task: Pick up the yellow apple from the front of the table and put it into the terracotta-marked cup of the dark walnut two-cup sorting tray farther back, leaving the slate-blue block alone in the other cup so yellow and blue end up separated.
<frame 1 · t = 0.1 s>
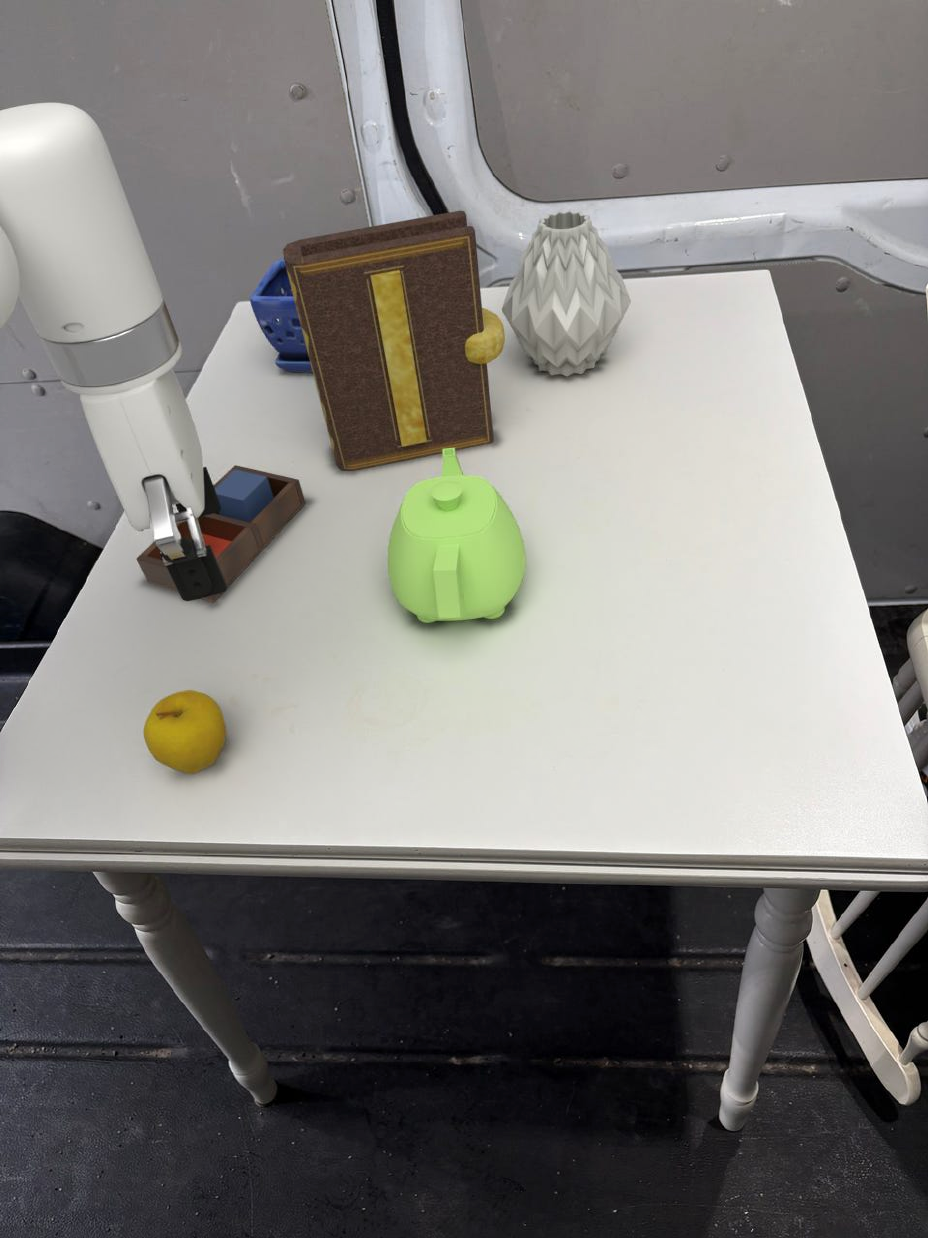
hand: (203, 552, 63), 18 cm above the table, tool pointing down, fingers open, 9 cm apart
vase: (566, 362, 113), on the table
teapot: (461, 589, 84), on the table
book: (423, 442, 103), on the table
apple: (202, 760, 73), on the table
flower pot: (326, 357, 121), on the table
blue block: (250, 516, 95), resting on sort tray
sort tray: (229, 541, 93), on the table
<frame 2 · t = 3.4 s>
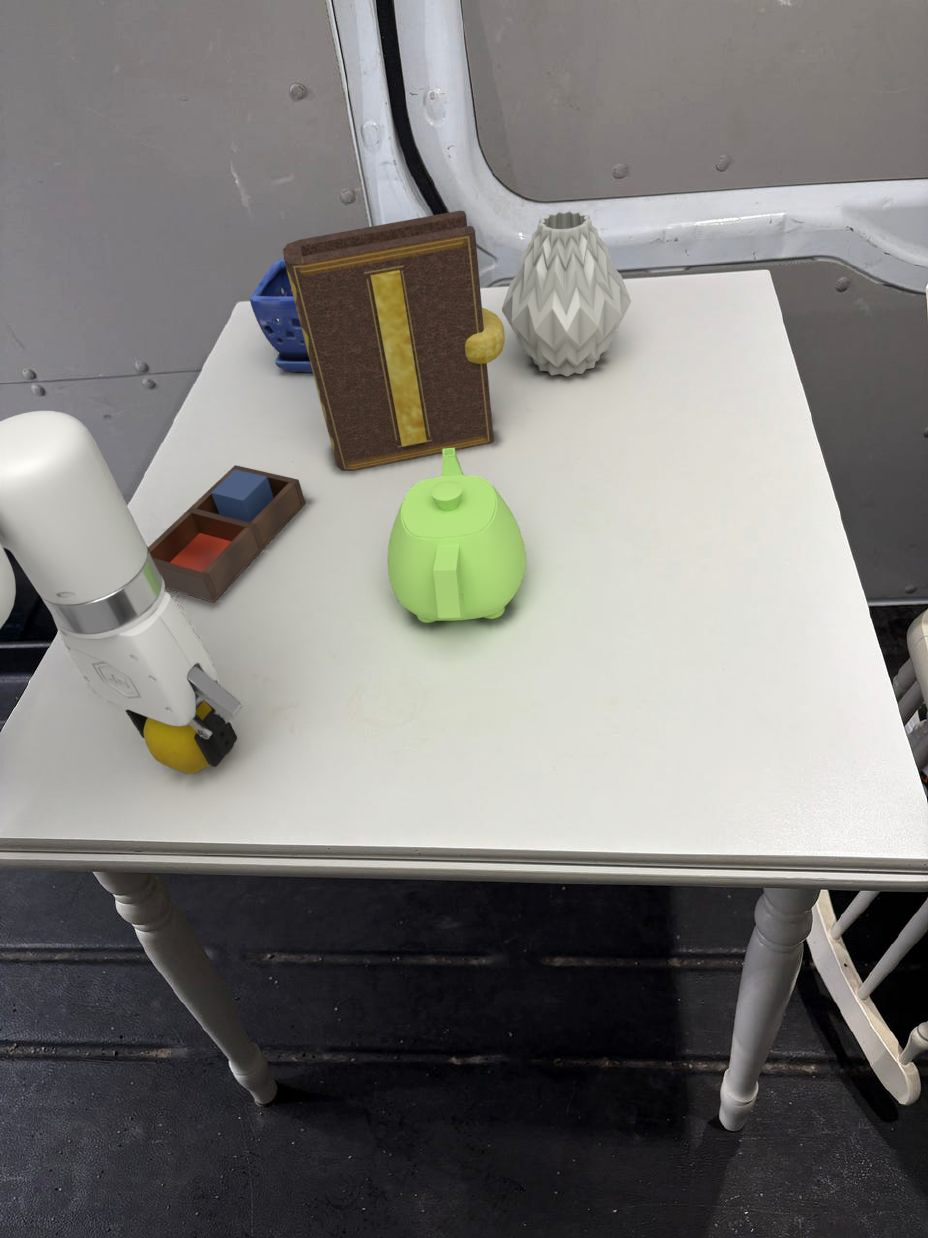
hand: (190, 738, 70), 3 cm above the table, tool pointing down, fingers closed on apple, 6 cm apart
apple: (202, 760, 73), on the table, touching gripper
everything else where it was.
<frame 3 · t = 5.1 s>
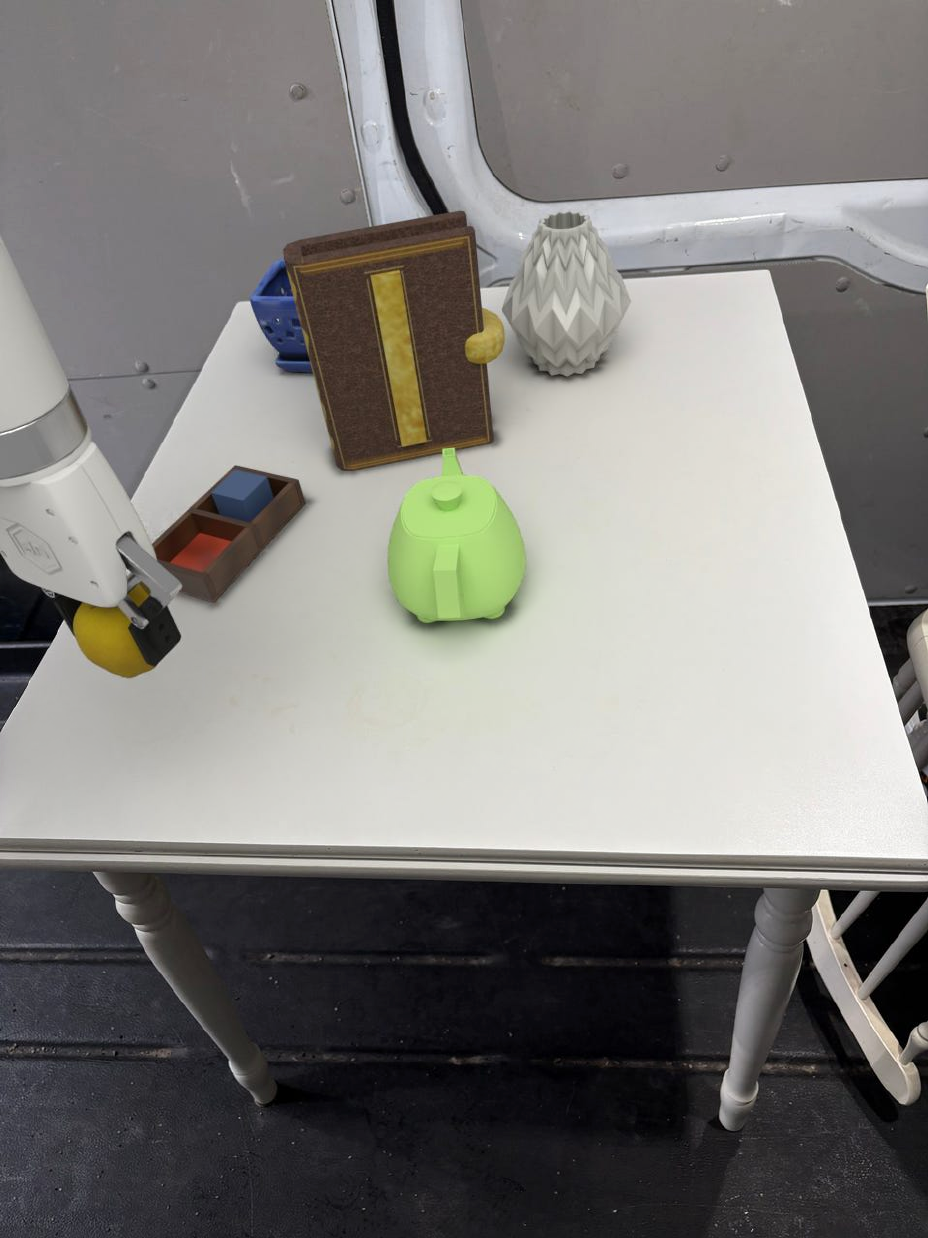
hand: (128, 637, 62), 15 cm above the table, tool pointing down, fingers closed on apple, 6 cm apart
apple: (143, 666, 64), point 12 cm above the table, touching gripper
everything else where it was.
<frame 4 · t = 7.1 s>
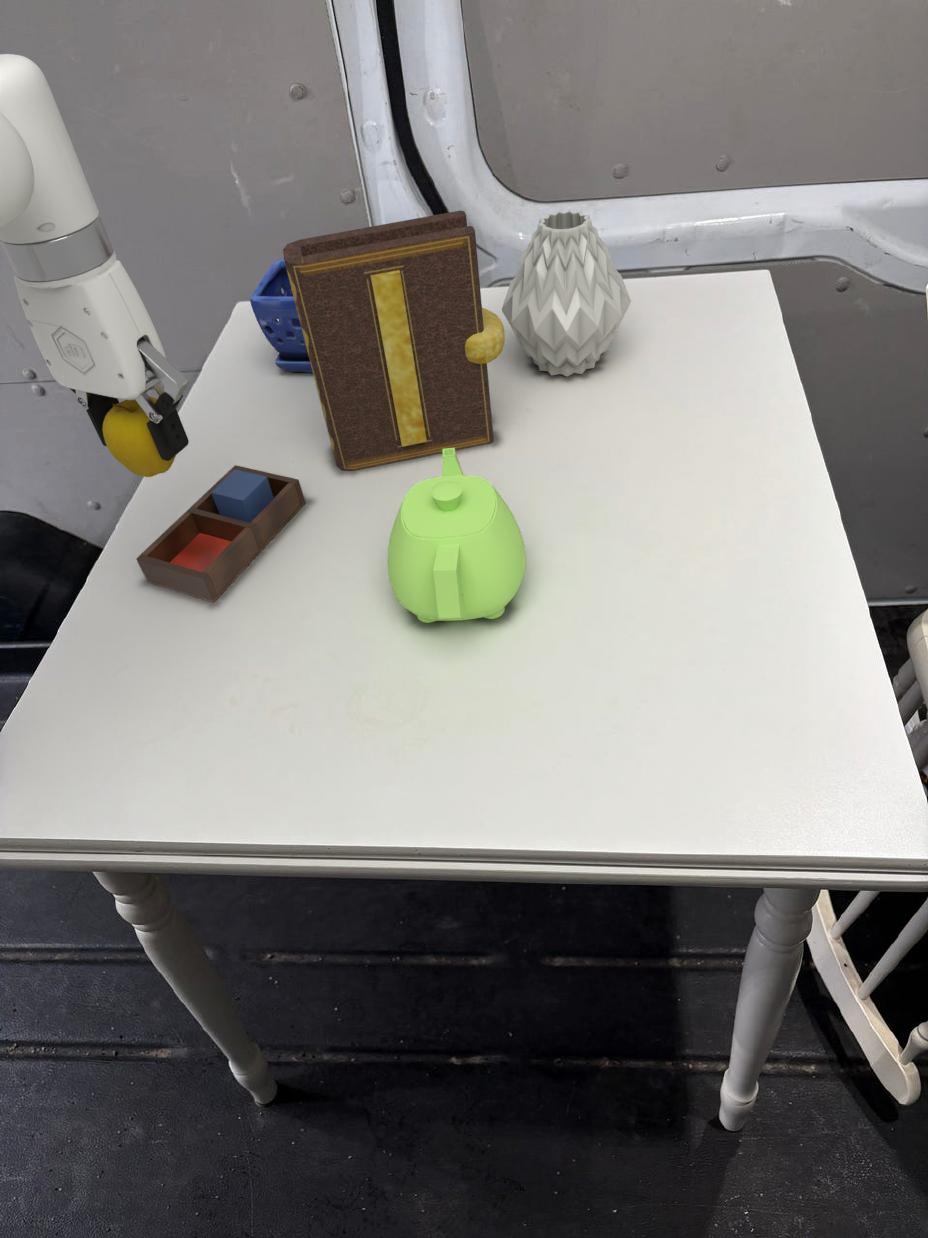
hand: (146, 443, 77), 17 cm above the table, tool pointing down, fingers closed on apple, 6 cm apart
apple: (159, 472, 79), point 14 cm above the table, touching gripper
everything else where it was.
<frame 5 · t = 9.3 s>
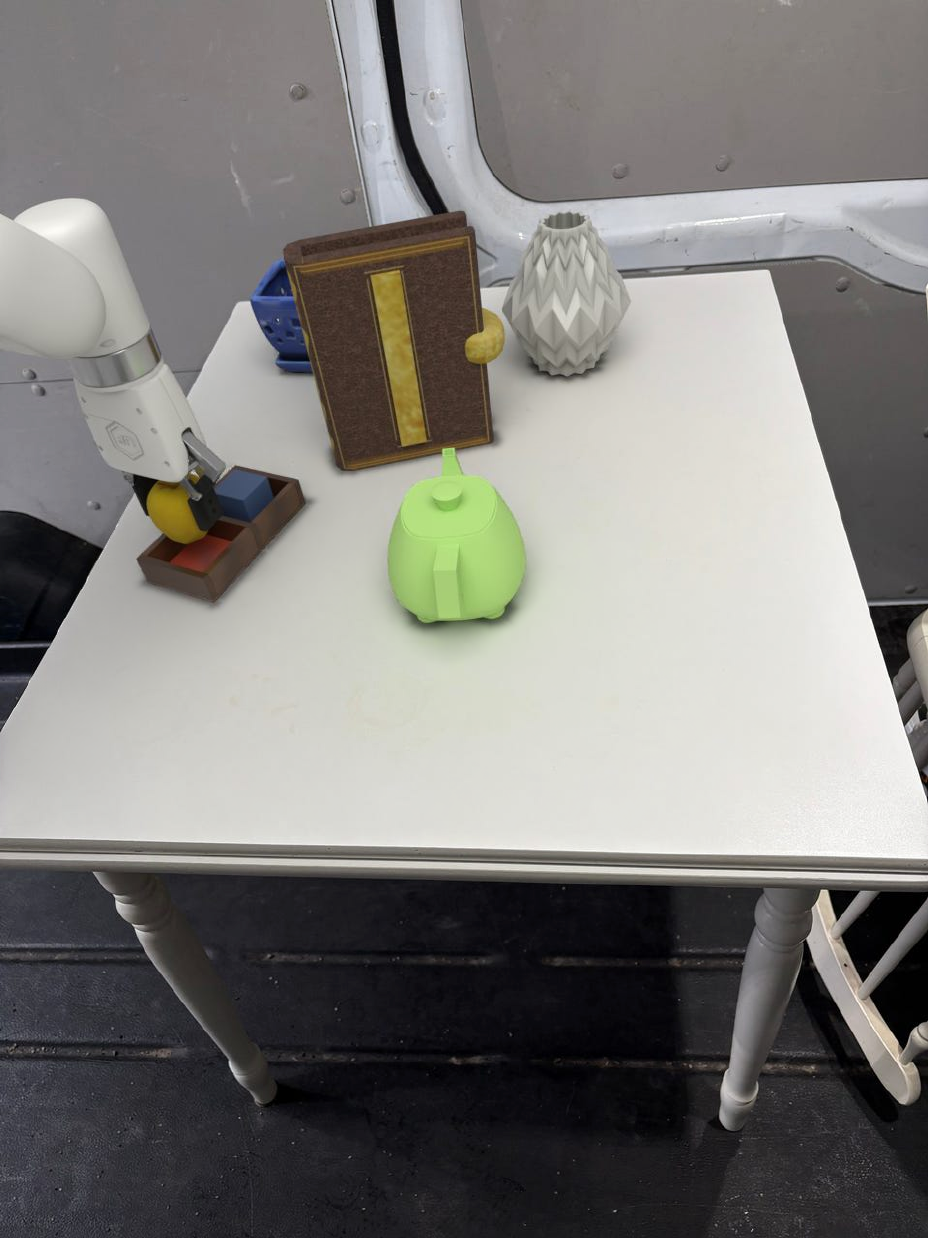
hand: (184, 514, 86), 7 cm above the table, tool pointing down, fingers closed on apple, 6 cm apart
apple: (195, 538, 88), point 4 cm above the table, touching gripper
everything else where it was.
when the fingers open (4 cm above the table, at t = 10.8 s): apple stays where it is, resting on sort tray.
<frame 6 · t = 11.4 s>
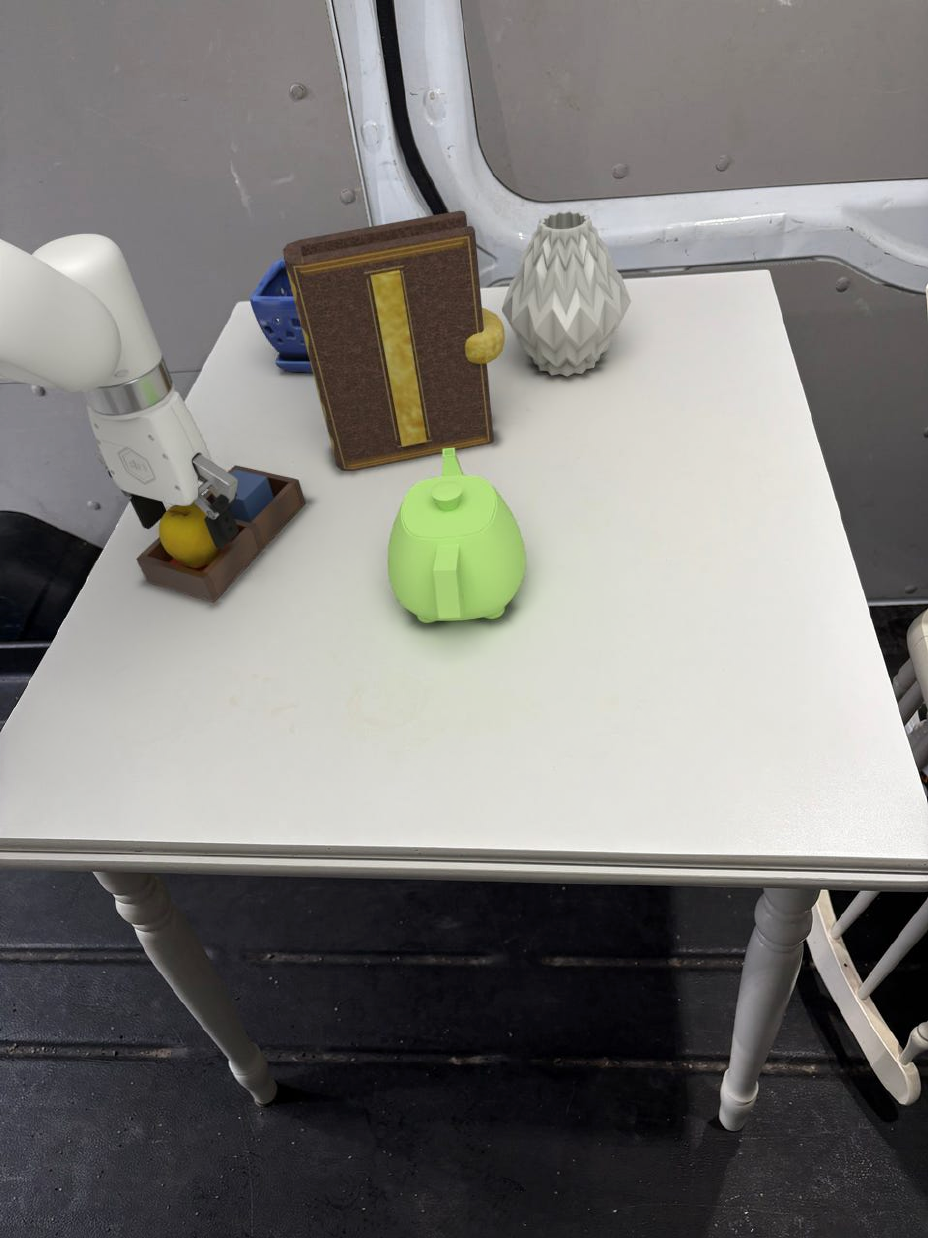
hand: (191, 530, 87), 5 cm above the table, tool pointing down, fingers open, 9 cm apart
apple: (205, 562, 90), resting on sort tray
everything else where it was.
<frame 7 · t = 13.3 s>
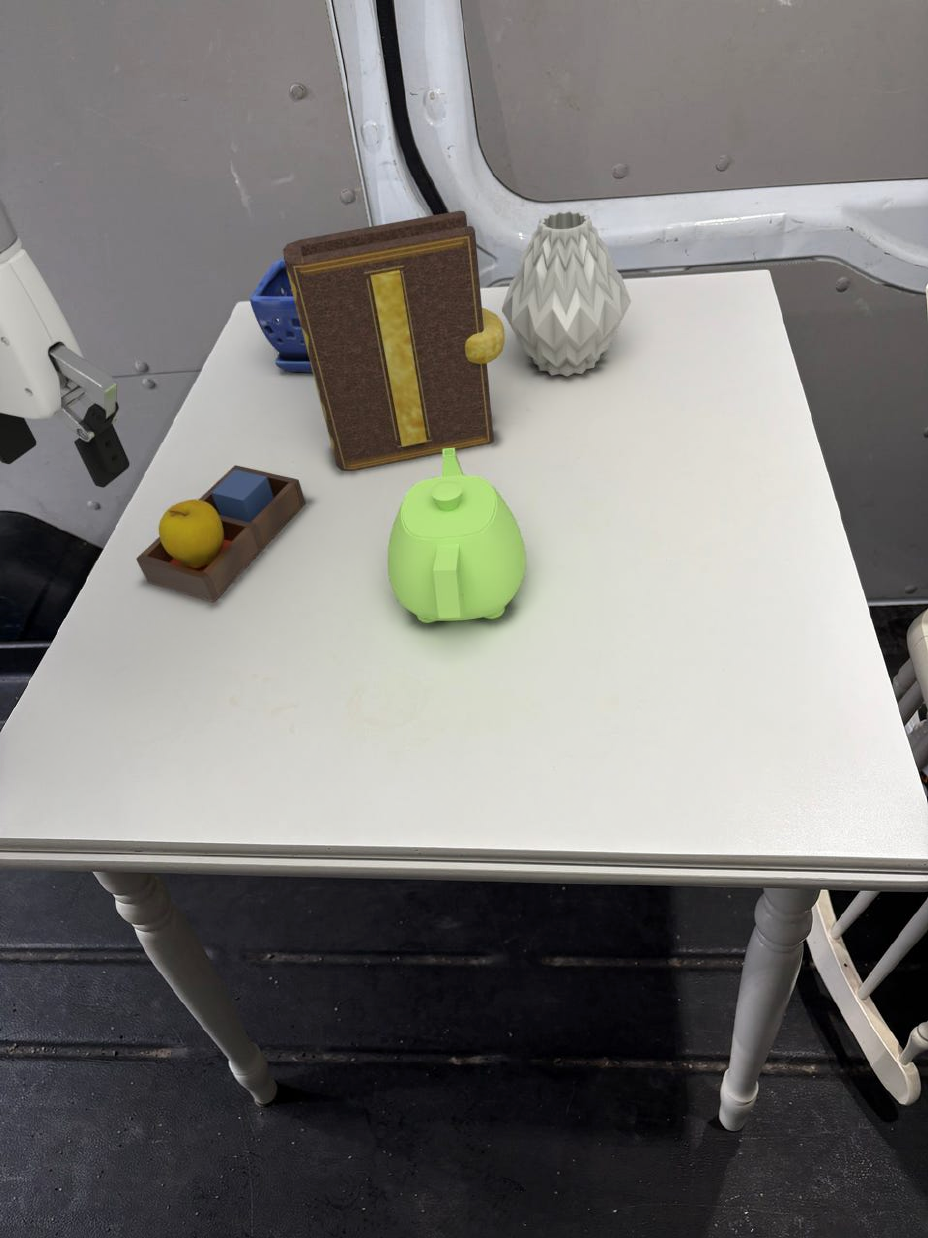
hand: (65, 465, 64), 24 cm above the table, tool pointing down, fingers open, 9 cm apart
nothing on the table moved.
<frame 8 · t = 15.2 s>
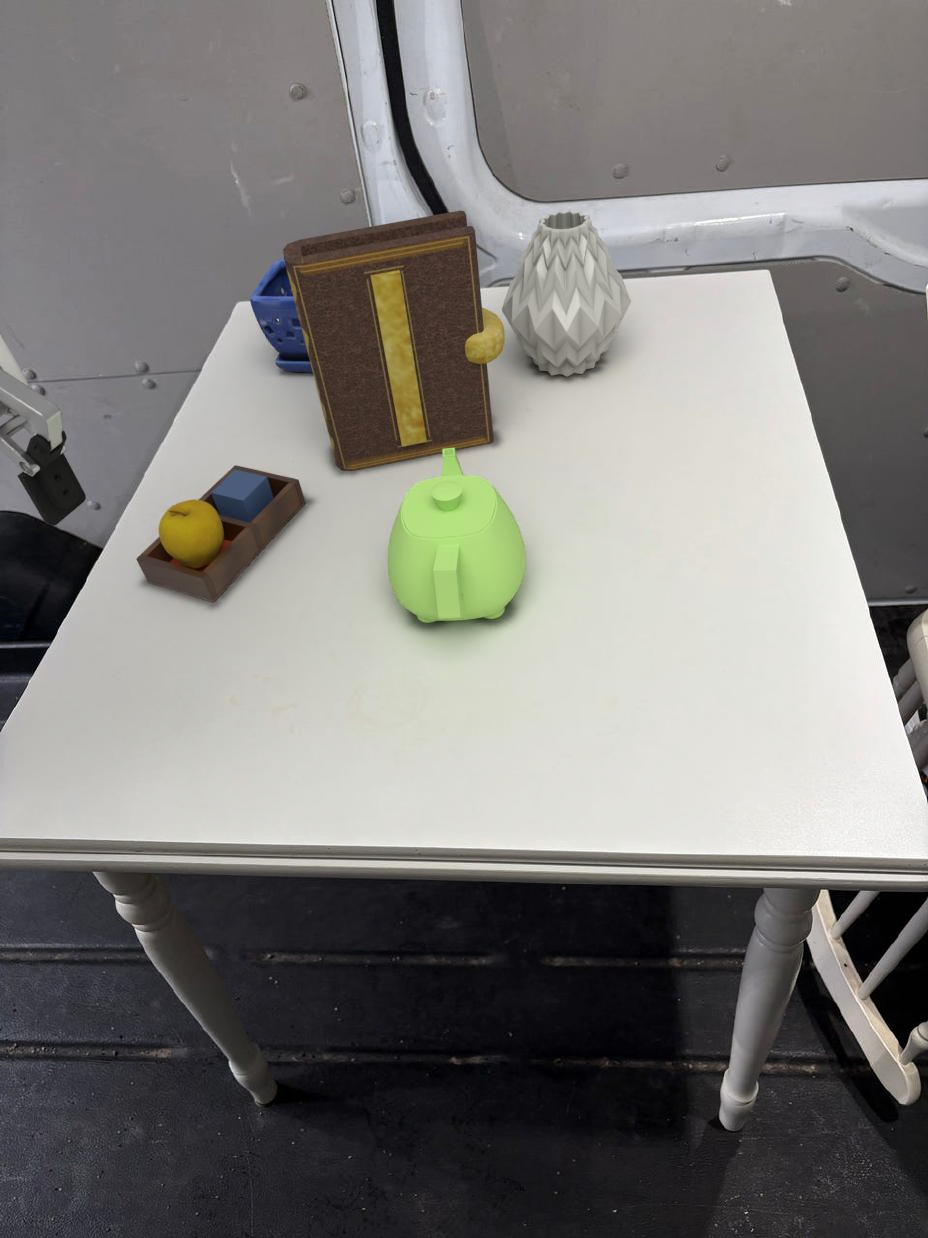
hand: (15, 497, 57), 26 cm above the table, tool pointing down, fingers open, 9 cm apart
nothing on the table moved.
at the end: apple 0.0 cm from the target spot in the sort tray, point 0.4 cm above the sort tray's base; blue block 0.1 cm from the target spot in the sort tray, point 0.4 cm above the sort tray's base; the gripper is holding nothing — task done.
